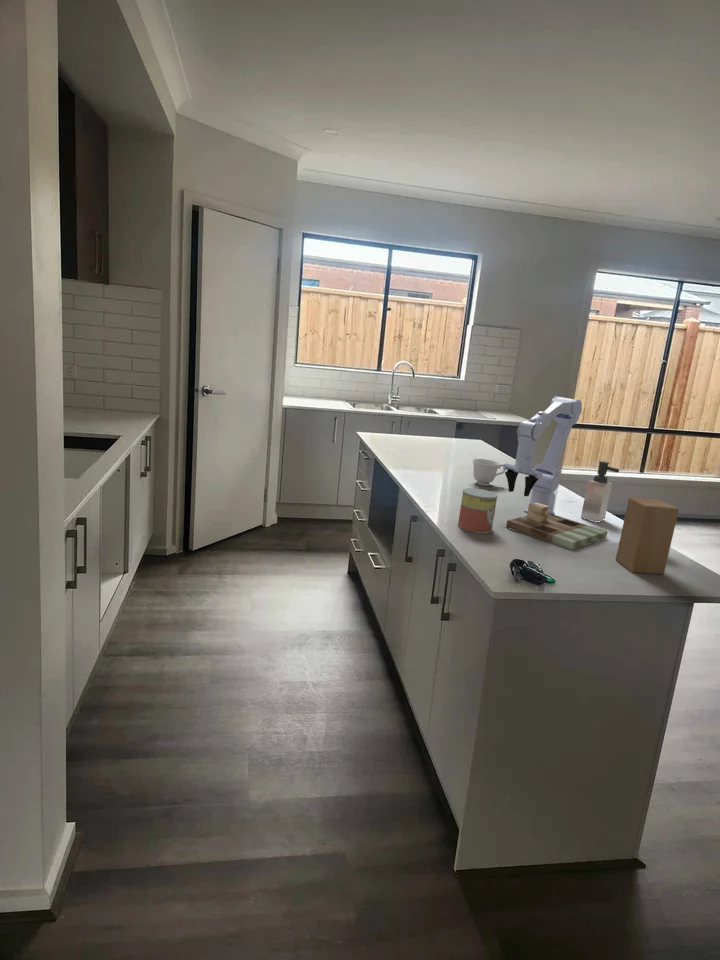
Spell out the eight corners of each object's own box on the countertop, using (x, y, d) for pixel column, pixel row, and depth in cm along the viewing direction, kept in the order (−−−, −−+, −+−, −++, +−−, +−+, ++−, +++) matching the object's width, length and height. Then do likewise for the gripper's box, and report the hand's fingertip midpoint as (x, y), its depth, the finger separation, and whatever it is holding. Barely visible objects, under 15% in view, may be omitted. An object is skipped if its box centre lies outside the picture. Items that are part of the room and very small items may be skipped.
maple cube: (534, 516, 218) (536, 502, 217) (546, 520, 214) (549, 506, 213) (526, 518, 214) (528, 504, 213) (539, 522, 211) (541, 508, 210)
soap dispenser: (603, 524, 226) (615, 466, 221) (580, 518, 232) (591, 460, 227) (610, 522, 231) (622, 464, 226) (587, 515, 237) (599, 459, 232)
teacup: (505, 489, 266) (509, 466, 263) (471, 486, 265) (474, 463, 263) (500, 483, 277) (503, 461, 275) (467, 479, 277) (470, 457, 275)
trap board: (542, 518, 226) (544, 511, 225) (606, 538, 209) (607, 531, 209) (506, 527, 209) (507, 520, 209) (571, 549, 193) (573, 542, 192)
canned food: (484, 535, 198) (490, 499, 195) (452, 526, 203) (457, 491, 201) (496, 528, 207) (502, 493, 205) (465, 520, 213) (470, 486, 210)
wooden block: (614, 560, 188) (628, 496, 183) (646, 562, 189) (660, 499, 184) (631, 572, 178) (646, 506, 173) (664, 575, 179) (679, 508, 174)
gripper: (500, 452, 218) (494, 489, 221) (537, 461, 208) (530, 500, 211) (512, 451, 223) (506, 487, 226) (548, 459, 213) (541, 498, 216)
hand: (518, 493), depth 219 cm, fingers open, 6 cm apart
